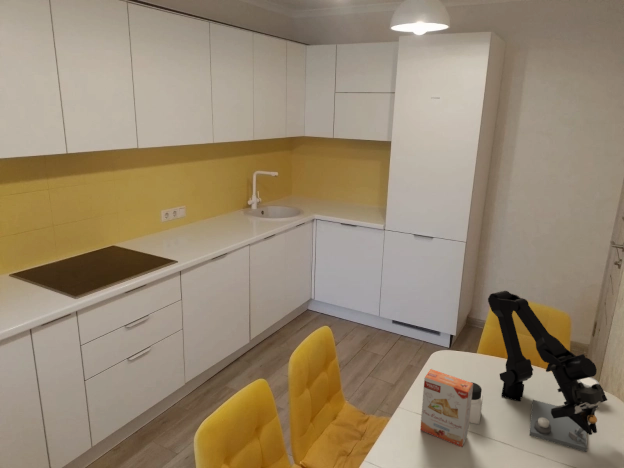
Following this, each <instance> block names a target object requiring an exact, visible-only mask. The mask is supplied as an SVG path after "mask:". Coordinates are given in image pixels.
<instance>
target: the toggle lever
mask: <svg viewBox="0 0 624 468" xmlns="http://www.w3.org/2000/svg"><path fill="white" fill-rule="evenodd" d="M587 422H588V424H589V425H590V424H591V423H592V424H594V423H596V424H597V422H598V417H597V416H596V414H595V415H592V414H590V415H588V417H587ZM583 431H584V430H583V429H582V428H581V427H580V428H579V429H578V430H577V431H576V432H575V434H576V435H580V434H581V433H582V432H583Z"/></svg>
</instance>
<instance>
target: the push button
mask: <svg viewBox="0 0 624 468" xmlns="http://www.w3.org/2000/svg"><path fill="white" fill-rule="evenodd" d="M538 425H539V426H541V427H543V428H548V427H549V421H548V420H547V419H546V418H539V419H538Z"/></svg>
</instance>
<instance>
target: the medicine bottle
mask: <svg viewBox="0 0 624 468" xmlns="http://www.w3.org/2000/svg"><path fill="white" fill-rule="evenodd" d="M471 383H473V391H472V401H471V409H470V418H469V424H475V425H480V420H481V416H482V409H483V408H482V407H483V400H484V396H483V395H482V387H481V385H479V384H477V383H475V382H472V381H471Z"/></svg>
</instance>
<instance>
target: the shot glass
mask: <svg viewBox="0 0 624 468" xmlns="http://www.w3.org/2000/svg"><path fill="white" fill-rule="evenodd" d="M577 381H578V383H580V382H582V383H583V385H584V386H585V387H586V388H589V387H592V385H594V384H600V382H599V381H598V380H597V379H595V378H593V377H589V378H585V379H580V380H577Z"/></svg>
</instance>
